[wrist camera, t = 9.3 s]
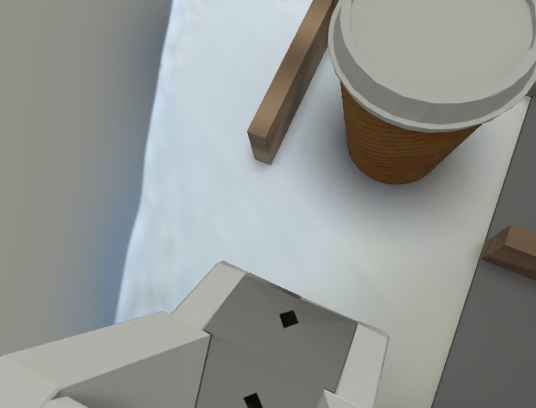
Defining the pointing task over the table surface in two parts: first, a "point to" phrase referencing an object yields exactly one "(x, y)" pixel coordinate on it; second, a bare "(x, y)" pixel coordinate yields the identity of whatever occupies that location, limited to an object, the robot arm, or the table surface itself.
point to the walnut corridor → (289, 98)
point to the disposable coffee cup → (426, 76)
